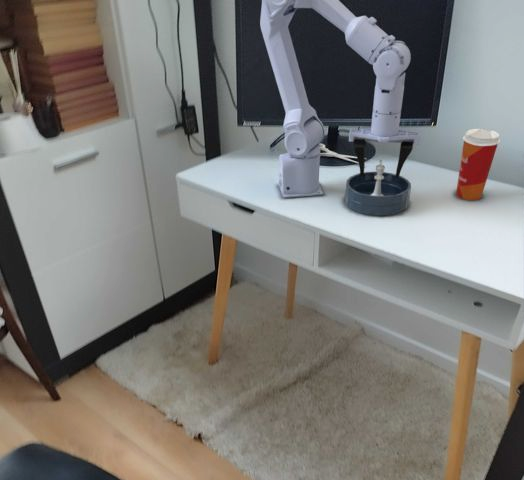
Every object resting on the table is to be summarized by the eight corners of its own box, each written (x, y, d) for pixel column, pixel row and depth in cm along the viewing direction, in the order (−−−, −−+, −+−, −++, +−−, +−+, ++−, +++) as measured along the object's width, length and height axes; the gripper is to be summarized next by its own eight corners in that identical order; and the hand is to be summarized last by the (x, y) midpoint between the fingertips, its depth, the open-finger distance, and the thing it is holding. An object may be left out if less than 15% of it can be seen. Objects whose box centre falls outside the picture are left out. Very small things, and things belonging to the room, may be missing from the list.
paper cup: (456, 186, 131) (468, 125, 122) (489, 192, 127) (504, 130, 119) (447, 198, 125) (459, 136, 116) (481, 205, 122) (497, 141, 113)
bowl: (353, 218, 118) (355, 199, 116) (338, 192, 129) (339, 173, 127) (417, 213, 120) (420, 194, 117) (396, 188, 131) (399, 169, 128)
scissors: (312, 141, 155) (376, 154, 145) (312, 144, 155) (376, 157, 146) (291, 153, 148) (357, 167, 139) (291, 155, 149) (357, 170, 139)
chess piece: (386, 197, 126) (392, 153, 120) (388, 206, 122) (393, 162, 116) (364, 196, 126) (369, 153, 120) (365, 205, 123) (370, 161, 116)
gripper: (349, 114, 110) (344, 180, 119) (423, 117, 107) (413, 184, 116) (352, 104, 115) (348, 168, 124) (423, 107, 113) (413, 171, 121)
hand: (379, 175), depth 120 cm, fingers open, 7 cm apart
